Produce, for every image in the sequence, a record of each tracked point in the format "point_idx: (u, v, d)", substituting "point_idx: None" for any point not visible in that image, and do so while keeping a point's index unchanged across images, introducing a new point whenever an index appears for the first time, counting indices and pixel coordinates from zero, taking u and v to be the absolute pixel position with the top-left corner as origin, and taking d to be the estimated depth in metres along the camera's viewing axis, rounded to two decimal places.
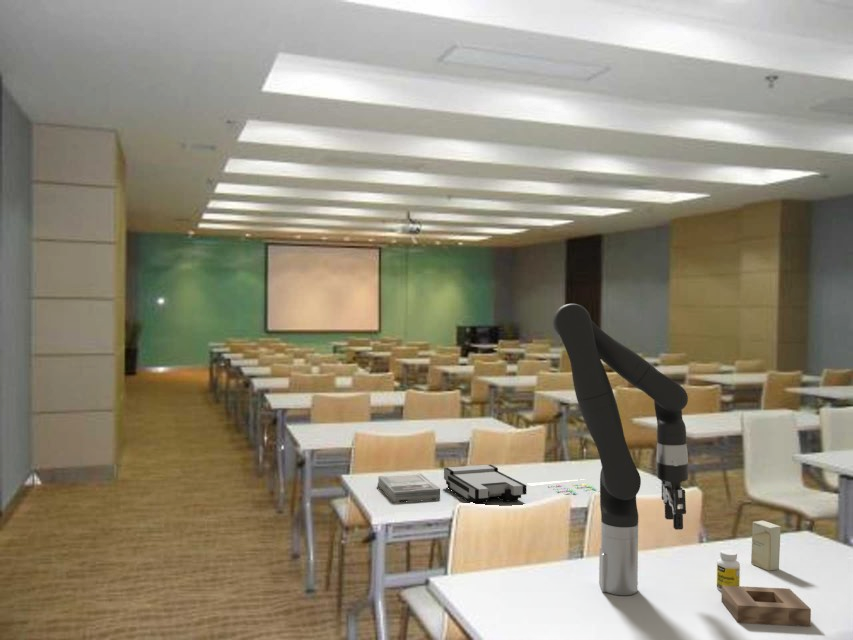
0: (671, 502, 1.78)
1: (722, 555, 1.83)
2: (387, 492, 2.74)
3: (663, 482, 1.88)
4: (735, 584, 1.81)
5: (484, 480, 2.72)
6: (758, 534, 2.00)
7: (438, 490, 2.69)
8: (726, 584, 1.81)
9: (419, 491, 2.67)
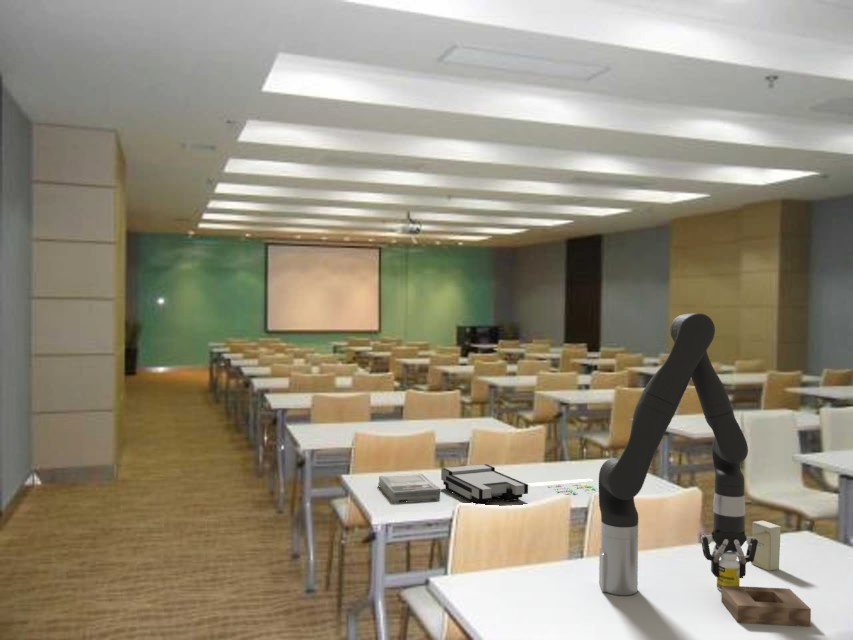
0: (743, 553, 1.82)
1: (722, 555, 1.83)
2: (387, 492, 2.74)
3: (707, 540, 1.83)
4: (735, 584, 1.81)
5: (485, 480, 2.72)
6: (758, 534, 2.00)
7: (438, 490, 2.69)
8: (726, 584, 1.81)
9: (419, 491, 2.67)
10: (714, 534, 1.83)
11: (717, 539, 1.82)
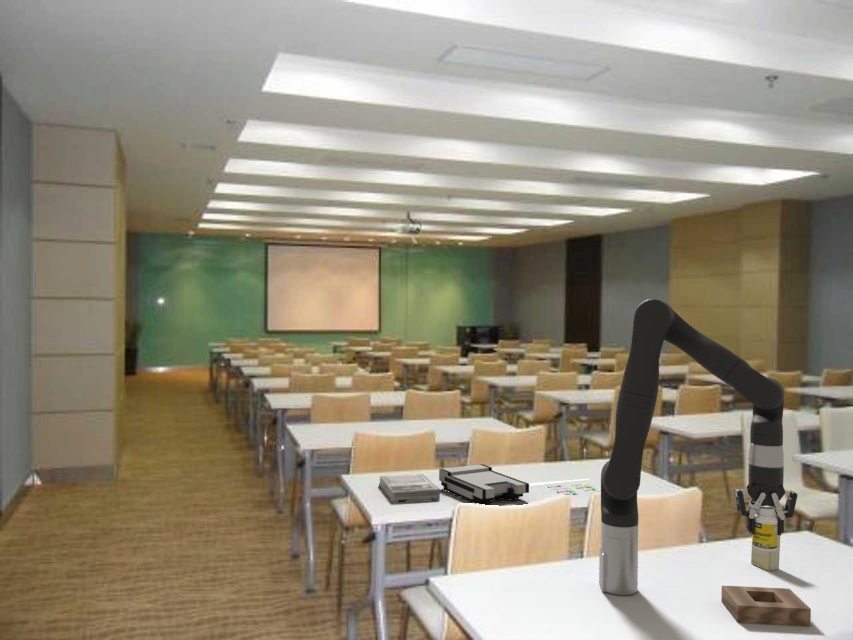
0: None
1: (758, 510, 1.68)
2: (387, 492, 2.74)
3: (742, 494, 1.68)
4: (773, 541, 1.66)
5: (485, 480, 2.72)
6: None
7: (437, 490, 2.69)
8: (763, 541, 1.67)
9: (418, 491, 2.67)
10: (750, 487, 1.68)
11: (753, 493, 1.68)
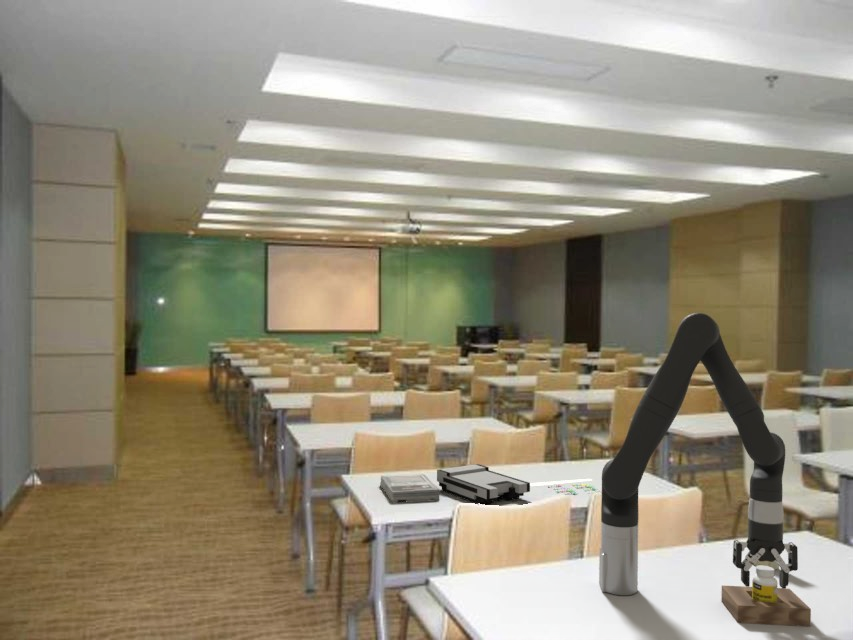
0: (783, 561, 1.67)
1: (758, 571, 1.68)
2: (387, 492, 2.74)
3: None
4: None
5: (485, 480, 2.72)
6: None
7: (437, 491, 2.68)
8: None
9: (418, 491, 2.66)
10: (750, 542, 1.68)
11: (752, 548, 1.68)
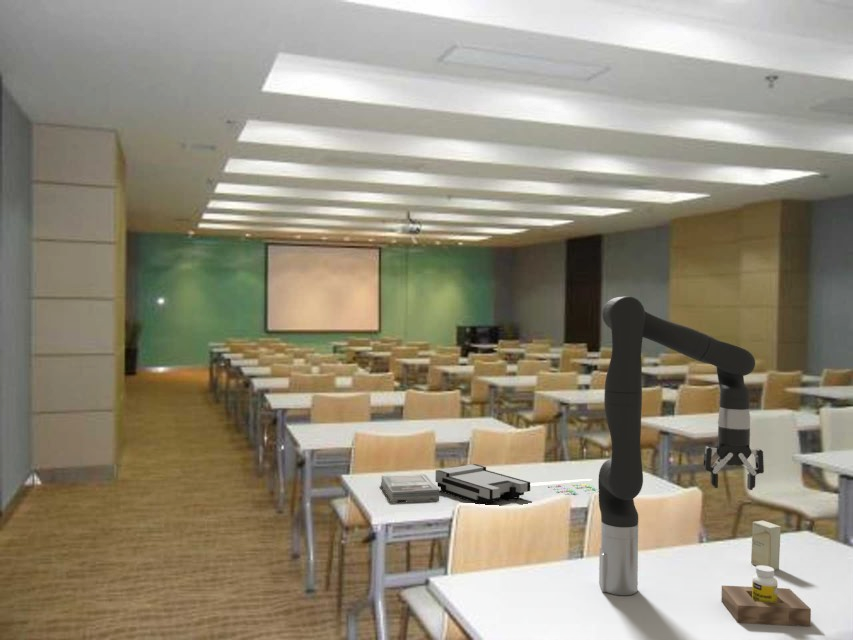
0: (750, 464, 1.81)
1: (758, 571, 1.68)
2: (387, 492, 2.74)
3: None
4: None
5: (486, 480, 2.73)
6: (758, 534, 2.00)
7: (437, 491, 2.68)
8: None
9: (417, 491, 2.66)
10: (719, 447, 1.83)
11: (721, 453, 1.82)
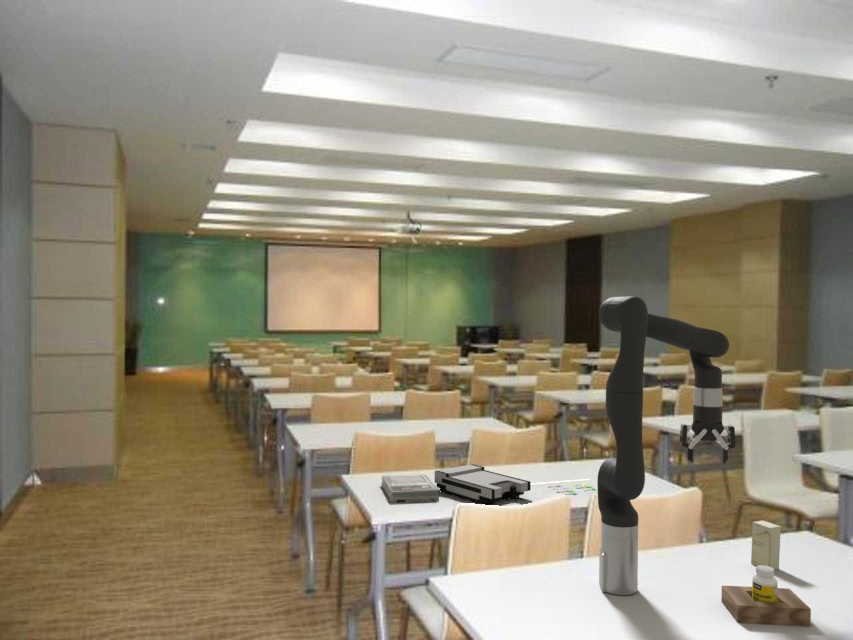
0: (723, 440, 1.94)
1: (758, 571, 1.68)
2: (387, 492, 2.74)
3: (686, 428, 1.96)
4: None
5: (486, 480, 2.73)
6: (758, 534, 2.00)
7: (437, 491, 2.68)
8: None
9: (417, 491, 2.66)
10: (694, 424, 1.96)
11: (696, 429, 1.95)
